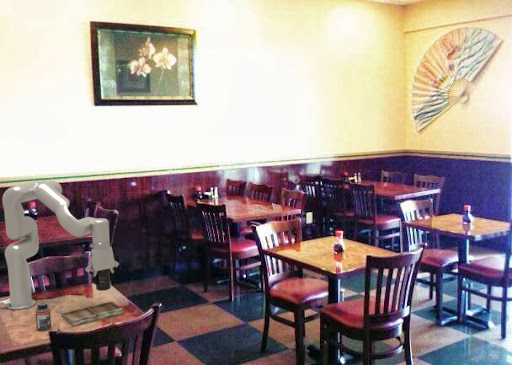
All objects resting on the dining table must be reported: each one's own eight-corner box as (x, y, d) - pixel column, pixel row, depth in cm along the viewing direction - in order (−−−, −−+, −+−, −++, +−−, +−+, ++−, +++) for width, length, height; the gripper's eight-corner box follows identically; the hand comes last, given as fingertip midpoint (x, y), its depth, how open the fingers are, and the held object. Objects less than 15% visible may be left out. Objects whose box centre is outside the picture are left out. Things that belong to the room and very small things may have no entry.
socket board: (72, 327, 236) (72, 323, 236) (61, 316, 248) (61, 313, 248) (124, 313, 251) (124, 310, 251) (111, 304, 263) (111, 301, 263)
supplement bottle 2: (113, 287, 255) (112, 262, 253) (105, 291, 248) (104, 266, 247) (101, 285, 257) (100, 261, 255) (92, 290, 250) (91, 265, 249)
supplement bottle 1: (39, 325, 238) (37, 301, 236) (52, 325, 238) (51, 300, 237) (34, 331, 232) (33, 306, 230) (48, 330, 232) (47, 305, 231)
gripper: (85, 249, 242) (87, 288, 244) (122, 243, 252) (123, 280, 255) (79, 246, 248) (82, 284, 250) (115, 240, 258) (117, 276, 260)
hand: (103, 282), depth 252 cm, fingers closed on supplement bottle 2, 6 cm apart
